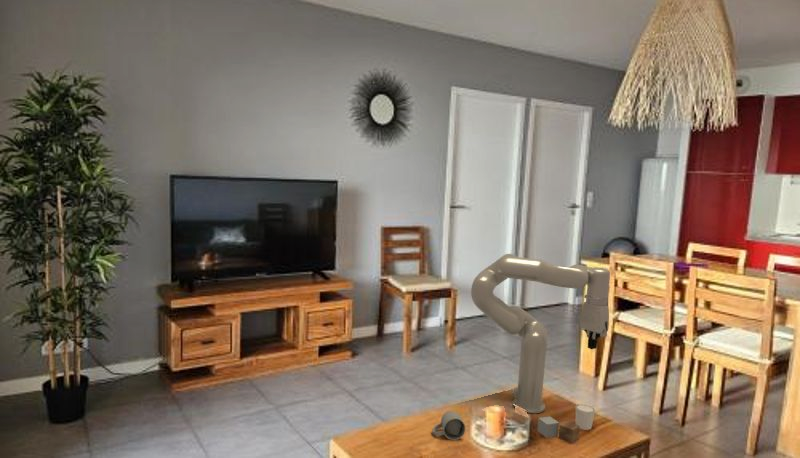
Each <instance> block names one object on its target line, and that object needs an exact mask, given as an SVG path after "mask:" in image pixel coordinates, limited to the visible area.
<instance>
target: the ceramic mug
mask: <svg viewBox="0 0 800 458" xmlns="http://www.w3.org/2000/svg"><path fill="white" fill-rule="evenodd" d="M439 429H442V430H440V431H438V430H439ZM431 432H432V434H433V435H434V436H435V437H441V436H443V435H444V437H446V438H447V440H450V441H457V440H460V439H461V438H463V436H464V435H465V432H466V424H465V422H464V420H463V419H462V417H461V415H460V413H458V412H456V411H453V410H449V411H446V412H445V413H444V414H442V416H441V419H440V423H438V424H436V425H434V427H432V431H431Z"/></svg>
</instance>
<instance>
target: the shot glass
mask: <svg viewBox="0 0 800 458" xmlns="http://www.w3.org/2000/svg"><path fill="white" fill-rule="evenodd" d="M574 408H575V410H574V411H575V412H574V413H575V417H574V418H575V420H574V421H575V423H574V424H577V425H580V428H579V430H584V431H589V429H590V430H591V429H592V427H593V422H594V417H595V412H596V409H595V408H594V407H592V406H590V405H588V404H576V405H575V407H574Z"/></svg>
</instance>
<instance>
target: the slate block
mask: <svg viewBox="0 0 800 458" xmlns="http://www.w3.org/2000/svg"><path fill="white" fill-rule="evenodd" d="M537 421H538V422H537V429H536V431H537V432H538V433H539V434H540V435H542V436H543V437H544V438H548V439H549V438H553V437H559V429H560V422H558V420H555V419H554V418H553V417H552V416H551V415H550V416H543V417H538V420H537Z"/></svg>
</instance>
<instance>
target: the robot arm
mask: <svg viewBox="0 0 800 458" xmlns="http://www.w3.org/2000/svg"><path fill="white" fill-rule="evenodd" d="M610 277H611V272H610V269H607V268H604V267H593V266H586V265H582V264H573V265H571V266H570V267H567V266H566V267H564V266H558V265H554V264H552V263H549V262H547V261H545V260H542V259H538V258H537V259H535V258H528V257H520V256H518V255H515V254H513V253H506V254H504V255H503V256H500V257H499V258H498V259H497V260H496V261H494V262H493V263H491V264H490V265H488V266H487V267H486V268H484V269H483V270H481V271H480V272H479V273H478V274H477V275H476V276H475V277H474V279H473V281H472V285H471V290H470V291H471V292H470V294H471V299H472V302H473V304H474V305H475V307H477V308H478V309H479V311H480V312H482V313H483V314H484V315H485V316H487V318H489V319H490V320H491V321H493V323H495V324H496V325H497V326H498V327H500V328H501V330H503V331H504V332H506V334H509V335H518V336H519V337H521V340H520V341H521V342H520V353H519V354H520V355H519V369H518V381H517V388H516V387H515V388H513V390H512V391H511V392H510V393H511V395H512V396H514V399H513V400H512V403H513V404H515V405H517V406H519V407H521V408H523V409H525V410H526V411H527V412H528V414H541V413H543V412H544V411H545V410H546V405H545V403H543V402H542V401H543V390H544V378H545V366H546V365H545V364H546V354H547V347H548V331H547V329H546V327H545V326H544V325H543V324H542V323H541V322H539V321H538V320H537V319H536V318H535V317H534V316H533V315H531V314H530V313H528V311H526V310H524V309H523V308H522V307H519V306H517V305H508V304H506V302H505V301H503V299H501V298H499V297H498V296H496V295H495V294H494V290H495V288H496V287H497V286H499V285H500V284H501V283H503V282H505V281H506V280H507V279H512V280H513V279H514V280H520V281H521V280H523V281H529V282H536V283H541V284H545V285H550V286H553V287H561V288H565V289H566V288H567V289H574V290H575V289H577V290H578V289H582V288H585V287H587V288H586V294H585V295H584V297H583V298H584V299H585V301H583V304H582V308H581V311H580V315H579V321H578V322H579V323H578V324H579V327H580V329H581V330H582V331H583V332H585V333H586V337H587V348H588V349H590V350H595V349H597V346H598V340H599V339H600V338H604V337H607V336H608V334H607V332H608V330H609V325H610V310H609V306H608V299H609V288H610V279H611V278H610Z"/></svg>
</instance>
